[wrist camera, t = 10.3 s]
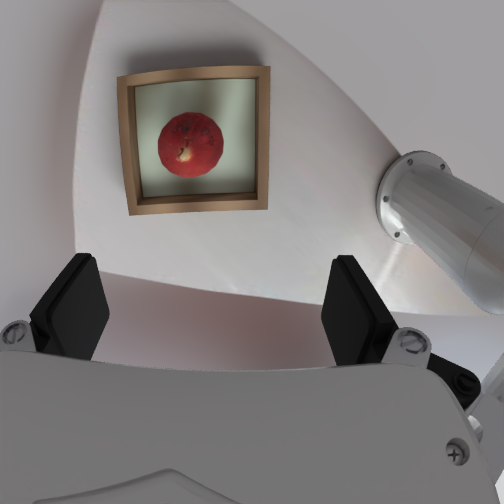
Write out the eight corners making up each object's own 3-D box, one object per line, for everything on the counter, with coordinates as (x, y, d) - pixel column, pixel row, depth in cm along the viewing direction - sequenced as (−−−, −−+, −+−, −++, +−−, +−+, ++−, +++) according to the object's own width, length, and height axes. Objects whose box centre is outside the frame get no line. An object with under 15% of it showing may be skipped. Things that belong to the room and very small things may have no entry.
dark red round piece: (167, 109, 26) (147, 115, 19) (226, 111, 26) (226, 117, 19) (165, 165, 28) (146, 190, 22) (221, 168, 29) (220, 192, 22)
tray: (265, 70, 26) (270, 66, 23) (263, 198, 32) (267, 209, 29) (128, 79, 24) (116, 77, 21) (138, 203, 31) (129, 215, 28)
